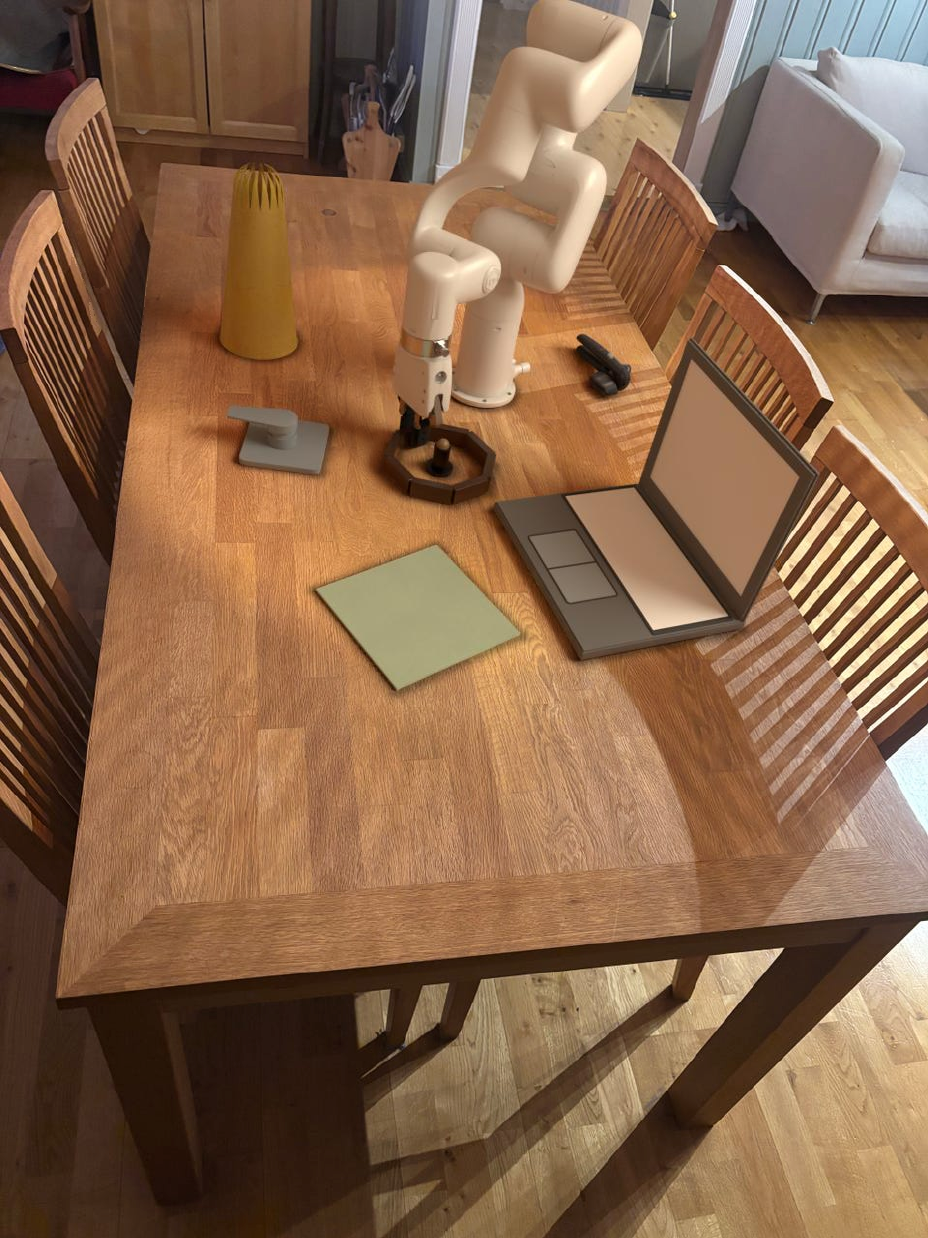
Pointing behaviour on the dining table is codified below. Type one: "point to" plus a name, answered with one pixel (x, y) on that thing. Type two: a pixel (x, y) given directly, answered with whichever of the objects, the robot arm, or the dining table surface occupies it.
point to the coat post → (440, 460)
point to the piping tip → (258, 271)
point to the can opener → (603, 367)
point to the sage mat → (417, 615)
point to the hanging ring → (433, 488)
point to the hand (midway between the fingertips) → (412, 439)
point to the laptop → (669, 524)
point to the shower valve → (280, 440)
